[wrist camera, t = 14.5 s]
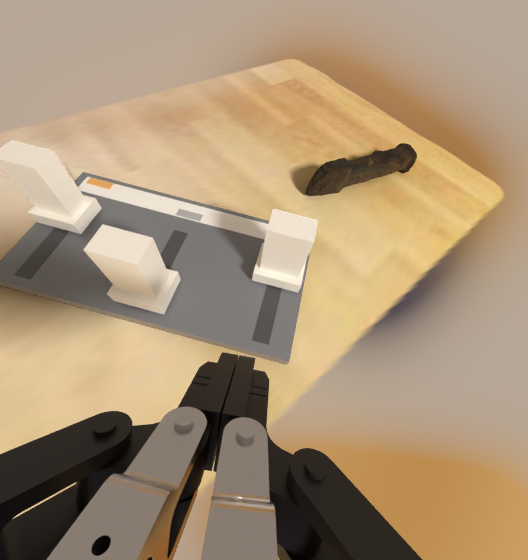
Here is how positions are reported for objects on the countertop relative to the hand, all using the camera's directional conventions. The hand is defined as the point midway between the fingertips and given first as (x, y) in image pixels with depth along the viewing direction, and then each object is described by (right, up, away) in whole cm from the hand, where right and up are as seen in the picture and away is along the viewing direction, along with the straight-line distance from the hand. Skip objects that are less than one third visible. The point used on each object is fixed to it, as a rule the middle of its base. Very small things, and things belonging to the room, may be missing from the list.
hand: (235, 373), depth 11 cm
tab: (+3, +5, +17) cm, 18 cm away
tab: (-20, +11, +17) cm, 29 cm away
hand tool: (+16, +19, +28) cm, 38 cm away
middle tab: (-10, +3, +14) cm, 17 cm away
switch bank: (-9, +6, +18) cm, 21 cm away
